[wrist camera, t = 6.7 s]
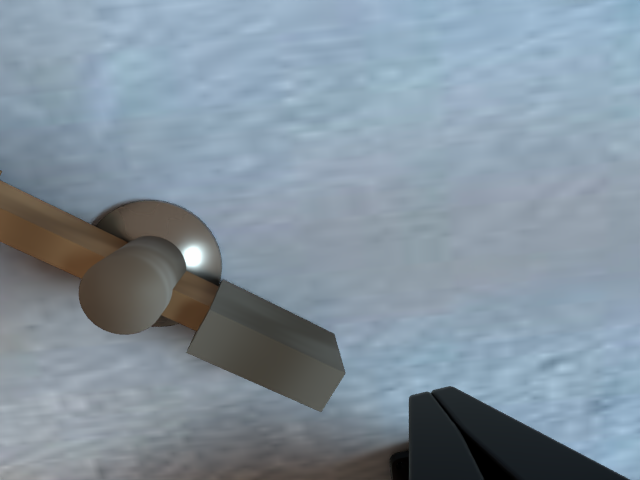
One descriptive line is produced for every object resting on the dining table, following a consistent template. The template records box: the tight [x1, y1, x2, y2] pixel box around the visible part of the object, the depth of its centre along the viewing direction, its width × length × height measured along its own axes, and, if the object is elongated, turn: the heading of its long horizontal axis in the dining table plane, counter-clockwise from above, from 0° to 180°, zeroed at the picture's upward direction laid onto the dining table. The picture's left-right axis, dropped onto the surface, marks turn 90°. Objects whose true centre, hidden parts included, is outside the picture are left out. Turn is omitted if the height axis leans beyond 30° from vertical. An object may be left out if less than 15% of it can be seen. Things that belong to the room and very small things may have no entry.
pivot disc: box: [96, 200, 222, 327], centre depth 18 cm, size 6×6×1 cm
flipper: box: [0, 170, 345, 412], centre depth 15 cm, size 22×3×4 cm, turn 60°
